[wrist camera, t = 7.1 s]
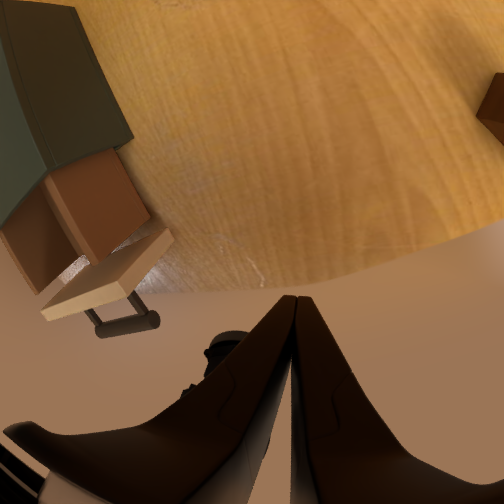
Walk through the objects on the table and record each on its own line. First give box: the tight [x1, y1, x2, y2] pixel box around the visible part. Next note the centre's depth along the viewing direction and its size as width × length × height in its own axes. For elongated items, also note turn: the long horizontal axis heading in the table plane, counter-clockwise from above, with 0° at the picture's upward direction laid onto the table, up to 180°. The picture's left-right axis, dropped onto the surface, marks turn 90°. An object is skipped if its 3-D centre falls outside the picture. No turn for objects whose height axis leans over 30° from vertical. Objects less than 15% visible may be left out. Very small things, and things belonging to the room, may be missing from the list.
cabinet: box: [0, 0, 134, 230], centre depth 15 cm, size 15×13×9 cm
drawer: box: [0, 147, 175, 338], centre depth 20 cm, size 18×11×7 cm, turn 25°
